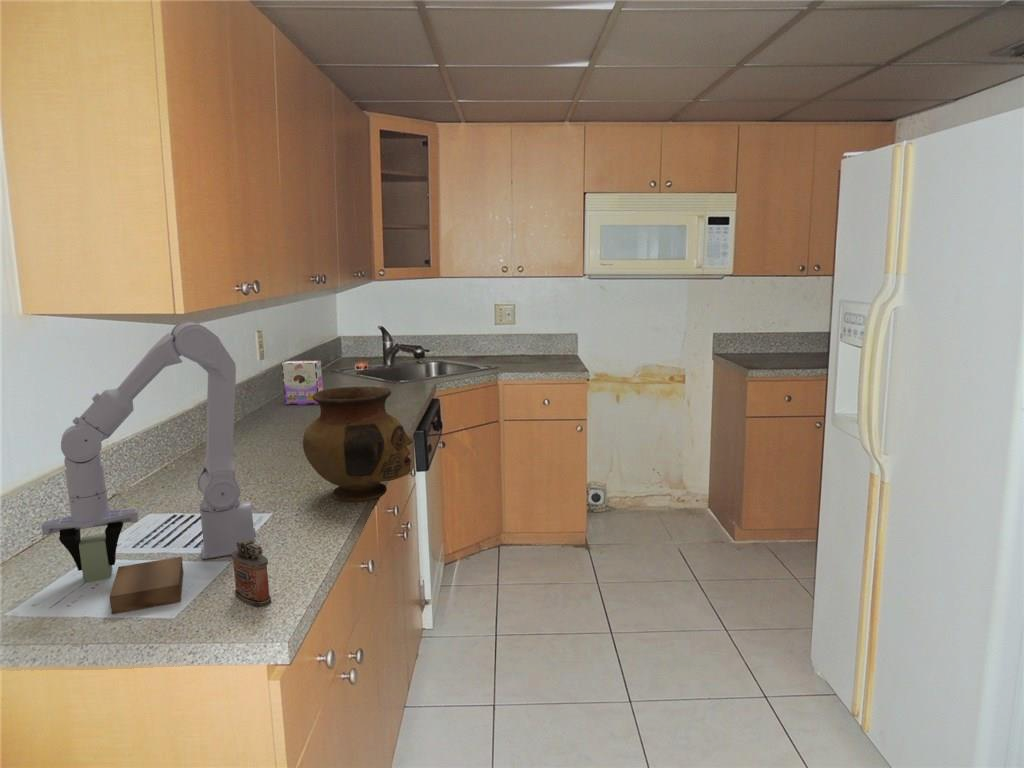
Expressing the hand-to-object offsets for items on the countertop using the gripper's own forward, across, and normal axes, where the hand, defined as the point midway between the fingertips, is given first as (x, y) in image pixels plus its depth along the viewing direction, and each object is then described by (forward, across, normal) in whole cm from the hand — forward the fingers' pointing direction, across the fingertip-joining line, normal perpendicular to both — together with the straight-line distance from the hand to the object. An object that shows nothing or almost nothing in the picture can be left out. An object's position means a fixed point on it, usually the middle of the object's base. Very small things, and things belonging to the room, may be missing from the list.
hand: (97, 565), depth 126 cm
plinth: (+2, +9, -11) cm, 14 cm away
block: (+2, 0, 0) cm, 2 cm away
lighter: (+2, +25, -21) cm, 33 cm away
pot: (+2, +51, +25) cm, 57 cm away
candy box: (+2, +52, +141) cm, 150 cm away
